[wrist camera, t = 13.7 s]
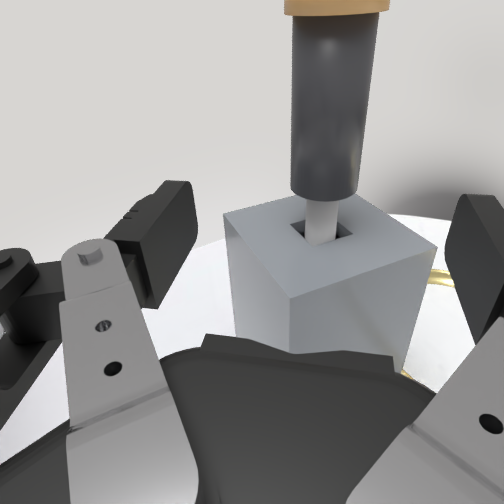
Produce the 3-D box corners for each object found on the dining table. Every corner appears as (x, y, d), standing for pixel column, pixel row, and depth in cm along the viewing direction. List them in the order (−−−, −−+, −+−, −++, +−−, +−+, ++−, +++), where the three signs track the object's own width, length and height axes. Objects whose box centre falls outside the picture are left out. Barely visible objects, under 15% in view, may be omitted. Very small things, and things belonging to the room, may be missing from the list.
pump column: (214, 364, 38) (188, 208, 28) (331, 319, 43) (346, 169, 32) (276, 504, 28) (272, 338, 17) (423, 426, 32) (491, 255, 22)
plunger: (274, 354, 34) (266, -16, 18) (320, 336, 35) (349, -21, 20) (300, 397, 30) (320, -19, 15) (350, 375, 32) (417, -25, 16)
